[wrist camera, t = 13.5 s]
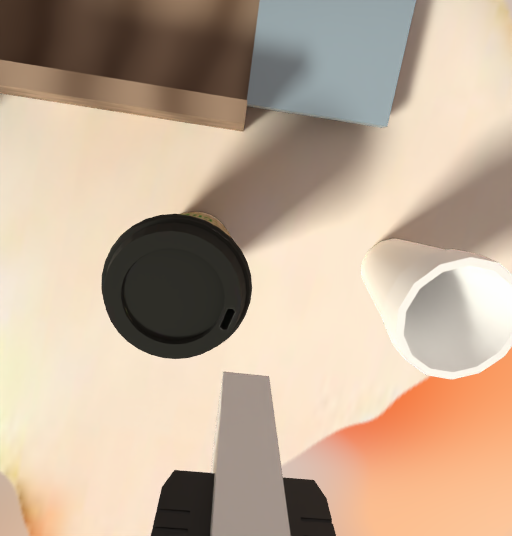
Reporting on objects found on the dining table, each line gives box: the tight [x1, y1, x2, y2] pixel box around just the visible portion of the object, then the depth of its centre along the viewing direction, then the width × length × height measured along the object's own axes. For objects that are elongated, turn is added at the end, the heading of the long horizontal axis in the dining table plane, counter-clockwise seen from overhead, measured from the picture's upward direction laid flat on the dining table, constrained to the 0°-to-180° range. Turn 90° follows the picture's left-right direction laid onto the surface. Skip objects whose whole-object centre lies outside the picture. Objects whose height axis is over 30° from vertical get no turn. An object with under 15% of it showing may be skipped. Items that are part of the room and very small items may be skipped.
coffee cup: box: [102, 212, 252, 359], centre depth 31 cm, size 10×10×15 cm
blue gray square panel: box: [247, 0, 416, 128], centre depth 31 cm, size 2×12×12 cm
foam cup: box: [361, 238, 512, 379], centre depth 33 cm, size 10×9×13 cm
